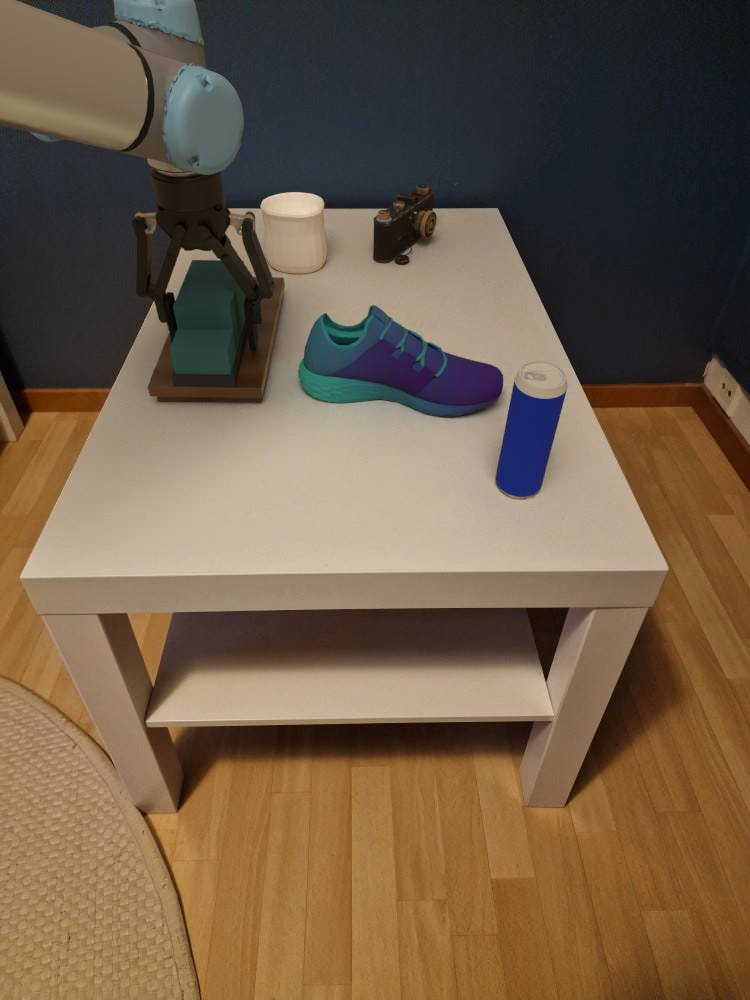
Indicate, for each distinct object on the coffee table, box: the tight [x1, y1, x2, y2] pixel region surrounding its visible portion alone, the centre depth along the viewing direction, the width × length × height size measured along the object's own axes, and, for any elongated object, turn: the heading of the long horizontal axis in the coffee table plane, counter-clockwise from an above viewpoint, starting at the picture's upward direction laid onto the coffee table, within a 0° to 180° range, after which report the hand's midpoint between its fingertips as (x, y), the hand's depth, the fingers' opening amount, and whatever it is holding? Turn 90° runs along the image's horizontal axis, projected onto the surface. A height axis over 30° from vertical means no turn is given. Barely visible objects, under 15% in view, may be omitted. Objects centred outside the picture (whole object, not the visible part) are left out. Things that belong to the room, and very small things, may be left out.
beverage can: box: [494, 360, 568, 499], centre depth 72 cm, size 5×5×15 cm
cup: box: [259, 191, 328, 275], centre depth 110 cm, size 10×10×10 cm
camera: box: [372, 183, 438, 266], centre depth 116 cm, size 16×7×8 cm, turn 148°
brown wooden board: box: [147, 276, 286, 404], centre depth 95 cm, size 28×14×3 cm, turn 0°
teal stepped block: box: [170, 259, 248, 387], centre depth 88 cm, size 18×8×8 cm, turn 0°
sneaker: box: [297, 304, 504, 418], centre depth 85 cm, size 10×26×12 cm, turn 81°
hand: (216, 343), depth 90 cm, fingers open, 9 cm apart
